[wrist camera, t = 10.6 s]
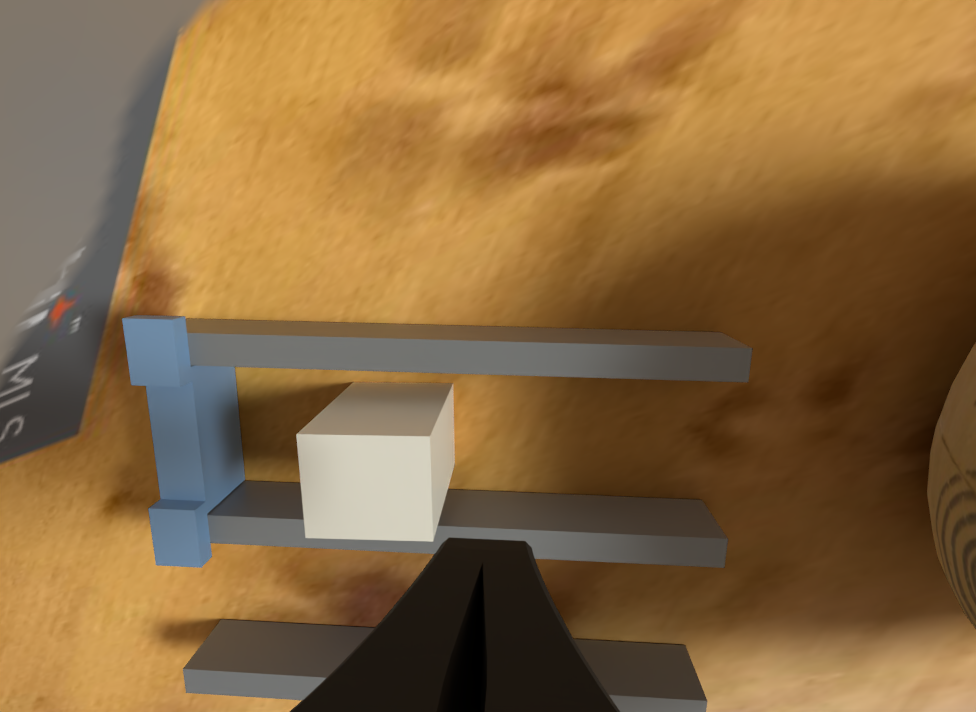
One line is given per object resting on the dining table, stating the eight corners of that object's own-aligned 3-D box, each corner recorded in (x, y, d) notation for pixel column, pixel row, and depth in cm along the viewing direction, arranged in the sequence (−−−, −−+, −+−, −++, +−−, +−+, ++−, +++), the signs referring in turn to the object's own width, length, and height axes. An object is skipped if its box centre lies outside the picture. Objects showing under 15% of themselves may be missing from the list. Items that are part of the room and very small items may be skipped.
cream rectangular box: (358, 461, 20) (305, 538, 15) (353, 382, 19) (296, 434, 14) (454, 463, 20) (432, 541, 15) (453, 383, 19) (430, 436, 14)
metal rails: (223, 641, 22) (175, 707, 19) (186, 304, 19) (122, 318, 16) (682, 667, 21) (710, 742, 18) (722, 316, 18) (764, 334, 15)
